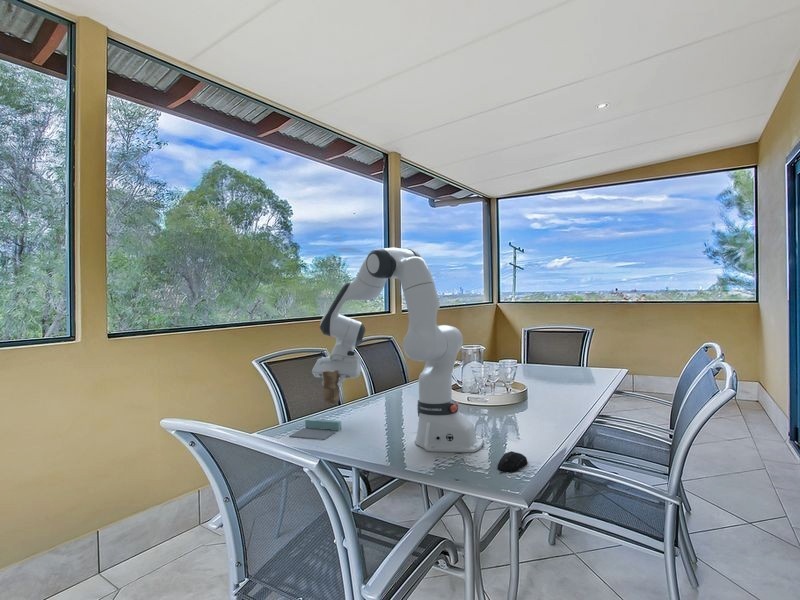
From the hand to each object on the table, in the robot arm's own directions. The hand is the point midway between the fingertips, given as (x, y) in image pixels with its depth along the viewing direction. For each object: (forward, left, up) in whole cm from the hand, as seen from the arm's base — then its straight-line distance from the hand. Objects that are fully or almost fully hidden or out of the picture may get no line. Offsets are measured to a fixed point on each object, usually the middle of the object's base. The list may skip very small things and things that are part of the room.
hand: (330, 385), depth 178 cm
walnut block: (0, -1, -6) cm, 6 cm away
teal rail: (-1, +8, -15) cm, 17 cm away
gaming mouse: (-71, +27, -15) cm, 78 cm away
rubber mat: (-1, +16, -15) cm, 21 cm away
